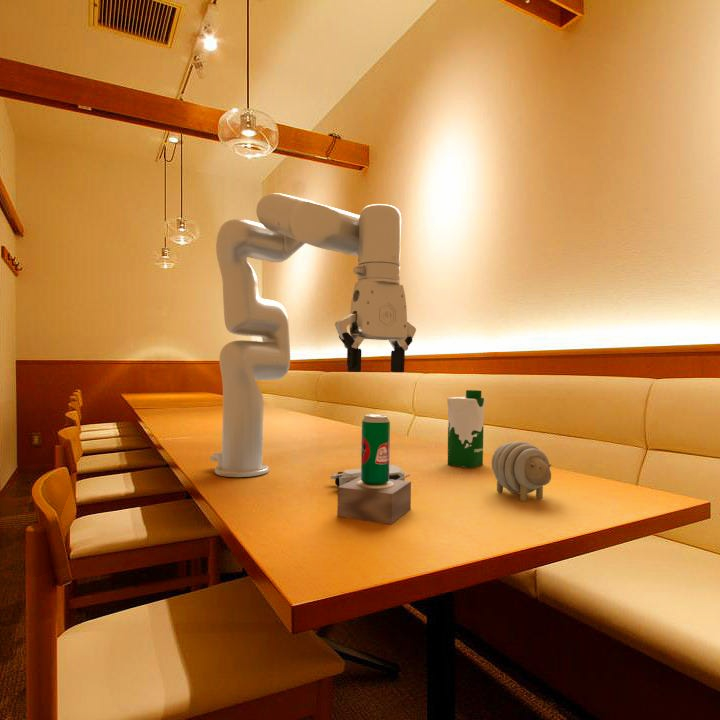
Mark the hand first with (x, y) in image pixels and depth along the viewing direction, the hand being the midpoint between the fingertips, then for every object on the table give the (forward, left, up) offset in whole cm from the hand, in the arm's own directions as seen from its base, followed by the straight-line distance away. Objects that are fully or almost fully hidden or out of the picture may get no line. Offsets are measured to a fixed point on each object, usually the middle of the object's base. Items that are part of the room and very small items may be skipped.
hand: (376, 371), depth 90 cm
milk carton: (+5, +52, -25) cm, 58 cm away
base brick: (0, 0, -25) cm, 25 cm away
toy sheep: (+22, +25, -25) cm, 42 cm away
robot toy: (-8, +16, -26) cm, 31 cm away
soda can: (0, 0, -20) cm, 20 cm away
